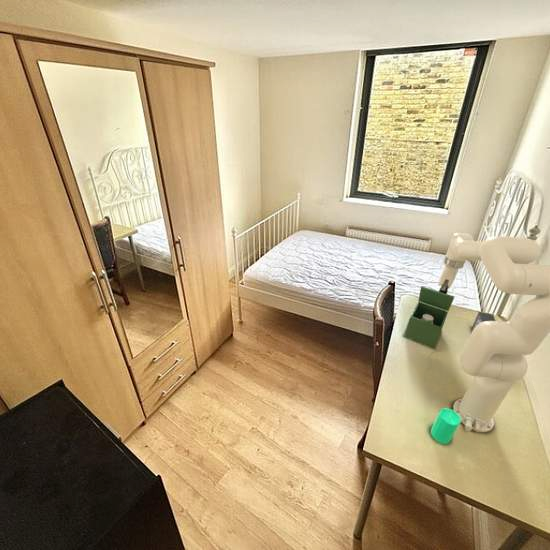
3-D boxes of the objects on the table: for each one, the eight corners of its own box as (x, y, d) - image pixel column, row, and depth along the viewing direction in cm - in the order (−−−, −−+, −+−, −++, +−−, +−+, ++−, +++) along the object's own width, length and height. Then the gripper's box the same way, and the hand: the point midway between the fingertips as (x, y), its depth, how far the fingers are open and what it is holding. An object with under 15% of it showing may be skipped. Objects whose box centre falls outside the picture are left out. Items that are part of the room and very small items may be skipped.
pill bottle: (429, 332, 143) (435, 316, 138) (428, 338, 139) (434, 322, 134) (417, 327, 146) (422, 311, 141) (415, 334, 142) (420, 318, 137)
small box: (470, 327, 148) (478, 310, 143) (485, 330, 146) (493, 314, 141) (473, 340, 140) (481, 323, 134) (489, 344, 138) (498, 327, 132)
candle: (452, 434, 99) (464, 412, 93) (447, 447, 95) (459, 425, 89) (434, 423, 103) (444, 401, 97) (428, 435, 99) (438, 413, 93)
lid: (454, 298, 125) (454, 296, 125) (420, 287, 132) (421, 286, 132) (448, 311, 139) (448, 309, 139) (418, 301, 146) (418, 299, 146)
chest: (434, 348, 134) (442, 328, 128) (403, 336, 141) (410, 316, 135) (440, 330, 145) (448, 311, 139) (412, 320, 152) (418, 301, 146)
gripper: (447, 253, 131) (435, 287, 141) (441, 265, 121) (428, 301, 130) (466, 257, 127) (452, 292, 137) (461, 271, 117) (447, 307, 126)
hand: (441, 296), depth 133 cm, fingers closed
